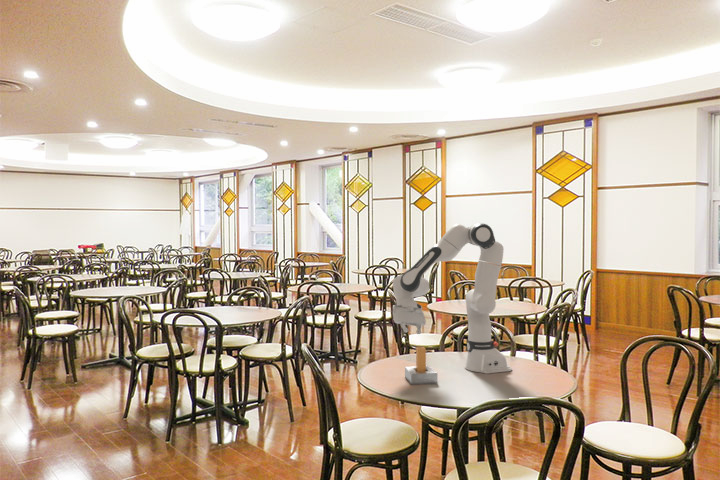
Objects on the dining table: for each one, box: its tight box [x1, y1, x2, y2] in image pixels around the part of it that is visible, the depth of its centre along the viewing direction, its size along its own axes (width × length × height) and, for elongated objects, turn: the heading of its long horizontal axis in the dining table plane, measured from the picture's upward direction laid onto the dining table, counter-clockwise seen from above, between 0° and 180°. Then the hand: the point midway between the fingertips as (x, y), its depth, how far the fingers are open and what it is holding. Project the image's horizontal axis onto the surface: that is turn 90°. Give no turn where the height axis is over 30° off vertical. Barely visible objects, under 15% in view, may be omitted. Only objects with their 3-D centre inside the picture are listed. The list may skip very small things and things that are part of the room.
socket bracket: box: [404, 365, 438, 386], centre depth 240 cm, size 12×12×5 cm
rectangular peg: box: [415, 346, 427, 372], centre depth 240 cm, size 4×4×14 cm
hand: (412, 333), depth 254 cm, fingers open, 8 cm apart
